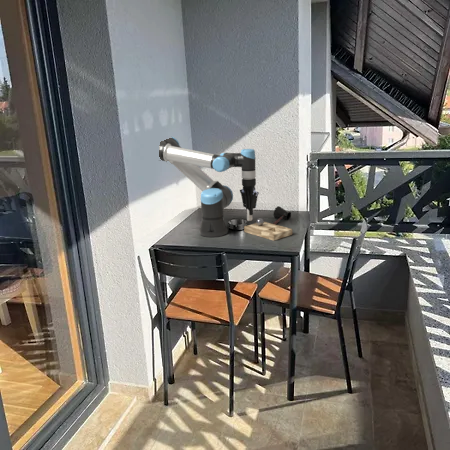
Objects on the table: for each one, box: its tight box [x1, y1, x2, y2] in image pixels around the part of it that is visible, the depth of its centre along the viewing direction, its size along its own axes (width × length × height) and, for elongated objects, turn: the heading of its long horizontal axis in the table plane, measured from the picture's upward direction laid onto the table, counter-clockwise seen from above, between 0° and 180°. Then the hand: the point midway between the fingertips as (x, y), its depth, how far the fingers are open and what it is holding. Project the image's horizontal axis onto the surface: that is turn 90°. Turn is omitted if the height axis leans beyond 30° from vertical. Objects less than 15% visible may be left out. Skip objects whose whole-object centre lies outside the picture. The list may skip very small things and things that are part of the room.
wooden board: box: [243, 221, 293, 241], centre depth 233 cm, size 14×22×3 cm, turn 40°
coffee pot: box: [272, 205, 292, 225], centre depth 255 cm, size 8×18×8 cm
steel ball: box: [255, 218, 265, 226], centre depth 236 cm, size 4×4×4 cm
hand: (249, 220), depth 243 cm, fingers closed
